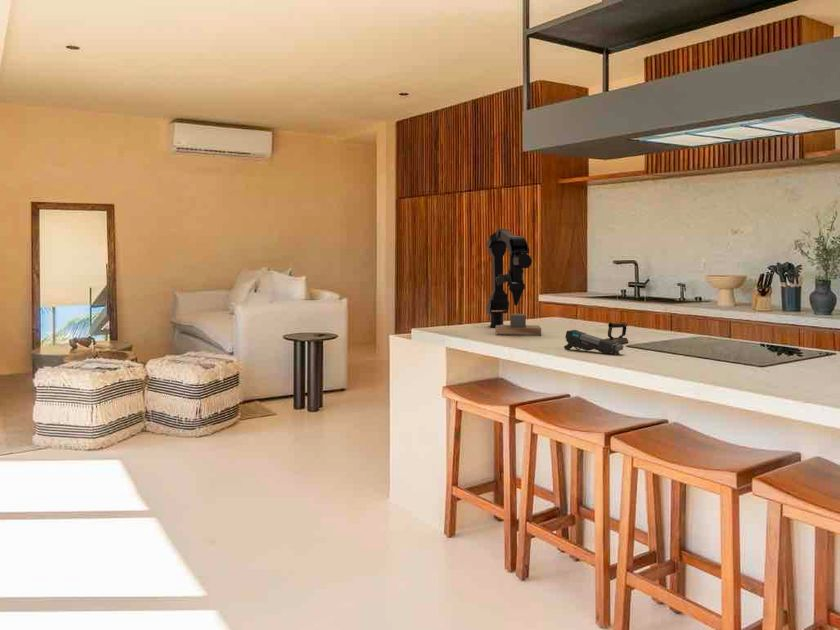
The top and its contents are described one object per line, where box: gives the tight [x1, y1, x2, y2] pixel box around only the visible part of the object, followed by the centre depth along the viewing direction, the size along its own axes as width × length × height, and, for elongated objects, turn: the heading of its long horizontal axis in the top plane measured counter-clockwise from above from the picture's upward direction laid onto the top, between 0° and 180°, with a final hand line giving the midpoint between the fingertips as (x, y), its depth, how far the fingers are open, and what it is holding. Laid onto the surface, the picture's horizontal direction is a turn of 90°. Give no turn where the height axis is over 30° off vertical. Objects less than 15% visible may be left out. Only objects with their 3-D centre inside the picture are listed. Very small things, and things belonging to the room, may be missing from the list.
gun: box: [563, 329, 625, 356], centre depth 251 cm, size 4×20×10 cm, turn 49°
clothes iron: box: [606, 321, 629, 345], centre depth 273 cm, size 7×11×10 cm, turn 127°
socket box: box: [495, 324, 542, 337], centre depth 300 cm, size 11×18×4 cm, turn 85°
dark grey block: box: [509, 313, 527, 328], centre depth 300 cm, size 6×6×7 cm
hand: (515, 305), depth 301 cm, fingers closed
